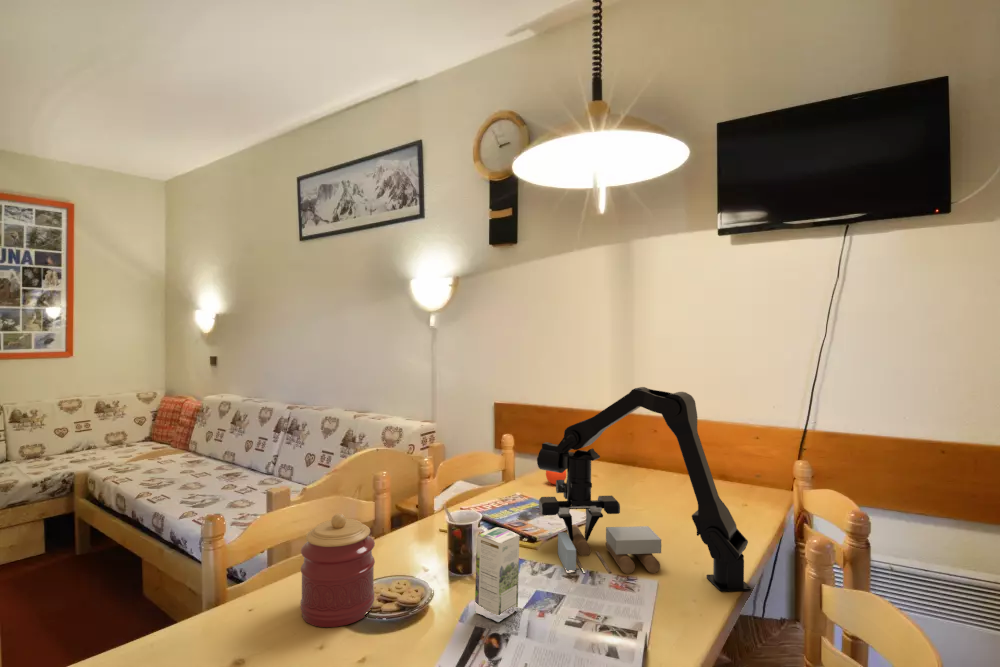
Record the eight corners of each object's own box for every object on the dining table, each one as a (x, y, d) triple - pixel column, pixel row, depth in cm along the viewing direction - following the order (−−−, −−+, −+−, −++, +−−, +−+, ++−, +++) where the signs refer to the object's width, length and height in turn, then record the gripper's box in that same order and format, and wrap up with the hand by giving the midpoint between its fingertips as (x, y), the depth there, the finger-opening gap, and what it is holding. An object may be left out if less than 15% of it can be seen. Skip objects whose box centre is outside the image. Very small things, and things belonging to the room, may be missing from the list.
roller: (590, 556, 124) (590, 543, 124) (578, 556, 124) (577, 543, 124) (579, 536, 136) (578, 524, 136) (567, 536, 136) (567, 525, 136)
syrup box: (494, 601, 103) (495, 525, 103) (519, 612, 99) (519, 532, 99) (474, 613, 98) (474, 534, 98) (499, 625, 95) (500, 542, 94)
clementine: (541, 481, 185) (541, 460, 185) (560, 480, 187) (560, 459, 187) (550, 488, 178) (550, 466, 178) (569, 486, 180) (570, 465, 180)
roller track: (660, 572, 115) (660, 558, 115) (583, 575, 114) (583, 560, 114) (640, 550, 127) (641, 537, 127) (571, 551, 126) (571, 539, 126)
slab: (661, 553, 118) (661, 539, 118) (616, 554, 117) (616, 540, 117) (648, 539, 125) (648, 526, 125) (605, 540, 125) (606, 527, 125)
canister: (380, 592, 106) (381, 502, 106) (366, 629, 93) (366, 526, 93) (313, 593, 106) (313, 502, 105) (289, 629, 93) (290, 526, 92)
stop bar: (575, 573, 115) (576, 549, 115) (566, 573, 115) (566, 549, 115) (566, 553, 125) (566, 532, 125) (557, 554, 125) (558, 532, 125)
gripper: (607, 467, 139) (607, 527, 139) (535, 468, 137) (535, 529, 138) (620, 478, 128) (620, 544, 128) (542, 480, 126) (542, 546, 126)
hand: (578, 540), depth 130 cm, fingers open, 3 cm apart
